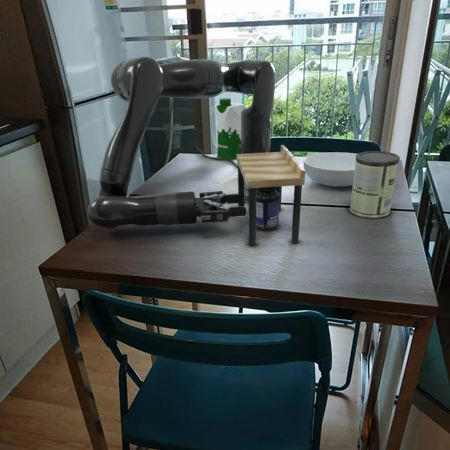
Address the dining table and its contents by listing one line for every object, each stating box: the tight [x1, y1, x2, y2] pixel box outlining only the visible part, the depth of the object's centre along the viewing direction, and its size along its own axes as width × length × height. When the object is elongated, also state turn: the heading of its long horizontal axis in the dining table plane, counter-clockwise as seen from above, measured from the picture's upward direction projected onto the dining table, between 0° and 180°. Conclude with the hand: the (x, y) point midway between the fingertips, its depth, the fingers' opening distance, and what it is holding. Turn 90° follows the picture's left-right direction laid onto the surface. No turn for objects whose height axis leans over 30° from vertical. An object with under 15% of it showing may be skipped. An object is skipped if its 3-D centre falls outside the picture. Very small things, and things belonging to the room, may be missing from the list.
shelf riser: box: [235, 144, 306, 247], centre depth 104 cm, size 22×12×17 cm, turn 5°
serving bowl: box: [303, 151, 358, 188], centre depth 133 cm, size 21×21×7 cm
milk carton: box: [213, 97, 245, 161], centre depth 160 cm, size 9×9×20 cm
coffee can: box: [349, 150, 401, 219], centre depth 111 cm, size 10×10×14 cm
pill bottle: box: [256, 187, 280, 231], centre depth 106 cm, size 6×6×11 cm
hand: (243, 204), depth 105 cm, fingers open, 8 cm apart
